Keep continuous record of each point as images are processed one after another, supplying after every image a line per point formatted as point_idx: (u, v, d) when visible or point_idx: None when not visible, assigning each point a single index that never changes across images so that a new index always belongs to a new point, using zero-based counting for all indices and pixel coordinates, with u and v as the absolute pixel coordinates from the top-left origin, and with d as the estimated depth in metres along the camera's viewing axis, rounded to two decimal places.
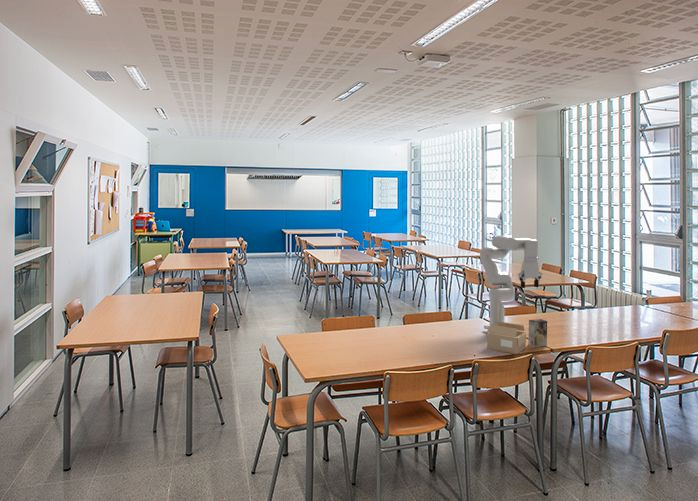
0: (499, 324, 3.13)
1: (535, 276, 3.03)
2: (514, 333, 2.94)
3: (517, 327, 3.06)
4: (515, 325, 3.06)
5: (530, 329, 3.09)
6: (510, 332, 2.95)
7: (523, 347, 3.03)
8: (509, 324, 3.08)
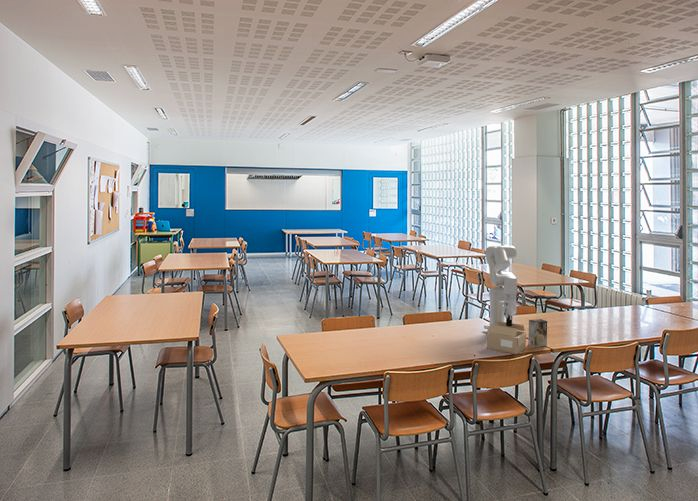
0: (499, 324, 3.13)
1: None
2: (514, 333, 2.94)
3: (517, 327, 3.06)
4: (515, 325, 3.06)
5: (530, 329, 3.09)
6: (510, 332, 2.95)
7: (523, 347, 3.03)
8: None
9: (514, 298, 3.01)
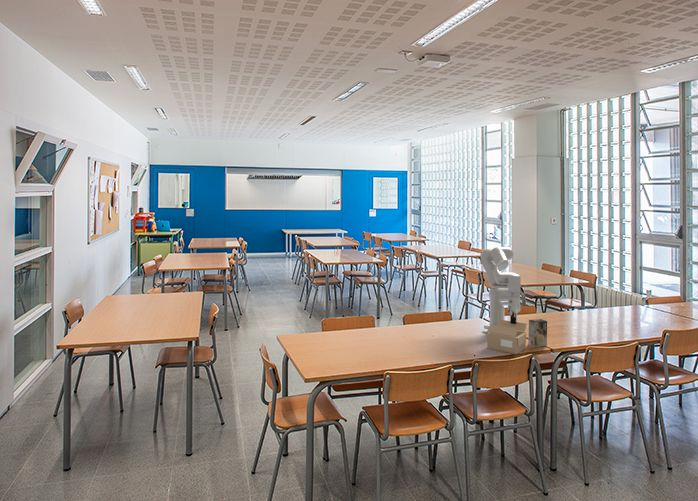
0: (501, 323, 3.15)
1: None
2: (514, 333, 2.94)
3: (519, 326, 3.08)
4: (518, 323, 3.09)
5: (530, 329, 3.09)
6: (510, 332, 2.95)
7: (523, 347, 3.03)
8: None
9: (518, 295, 3.06)
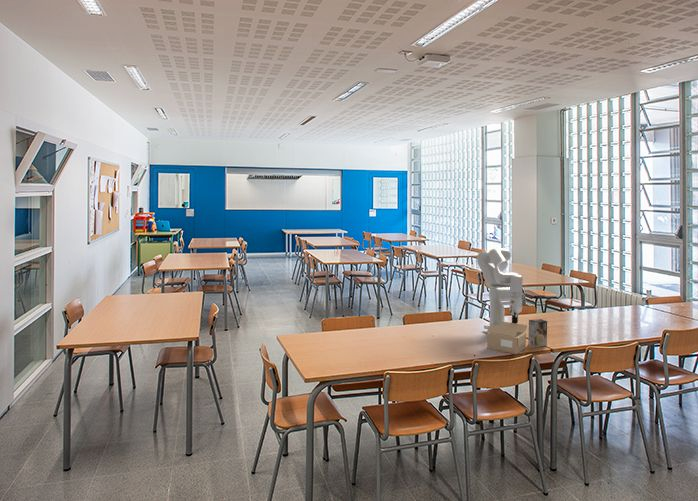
0: (501, 324, 3.16)
1: None
2: (514, 333, 2.94)
3: (519, 327, 3.09)
4: (518, 325, 3.11)
5: (530, 329, 3.09)
6: (510, 332, 2.95)
7: (523, 347, 3.03)
8: (512, 324, 3.13)
9: (520, 296, 3.09)
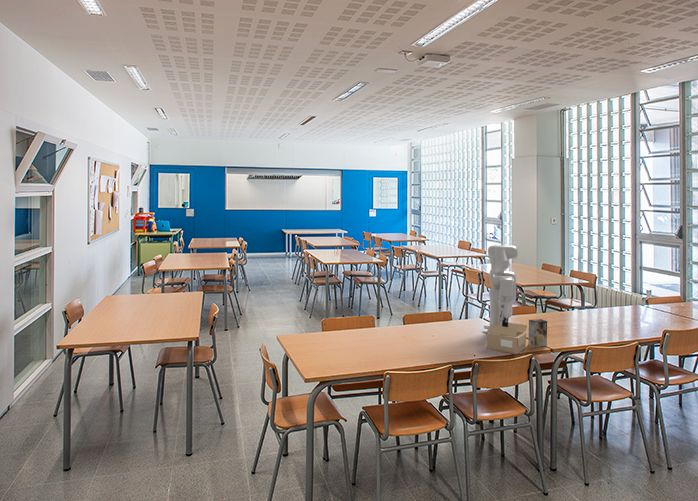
0: (501, 324, 3.16)
1: None
2: (514, 333, 2.94)
3: (519, 327, 3.09)
4: (518, 325, 3.11)
5: (530, 329, 3.09)
6: (510, 332, 2.95)
7: (523, 347, 3.03)
8: (512, 324, 3.13)
9: (510, 300, 2.96)
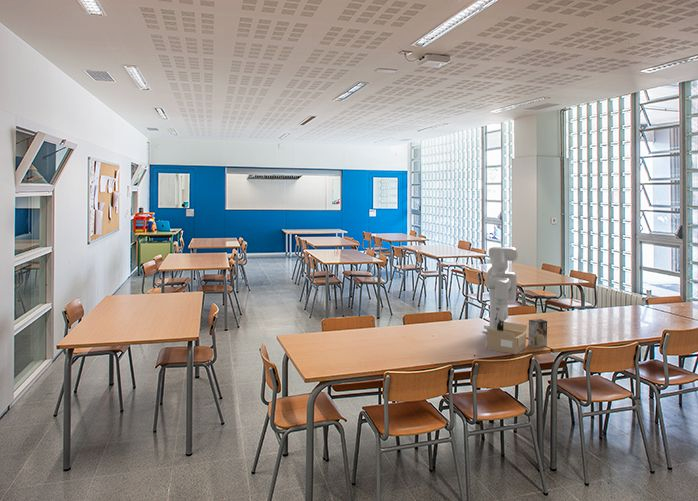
0: None
1: None
2: (512, 335, 2.91)
3: (519, 327, 3.09)
4: (518, 325, 3.11)
5: (530, 329, 3.09)
6: (509, 335, 2.93)
7: (523, 347, 3.03)
8: (512, 324, 3.13)
9: (505, 303, 2.89)
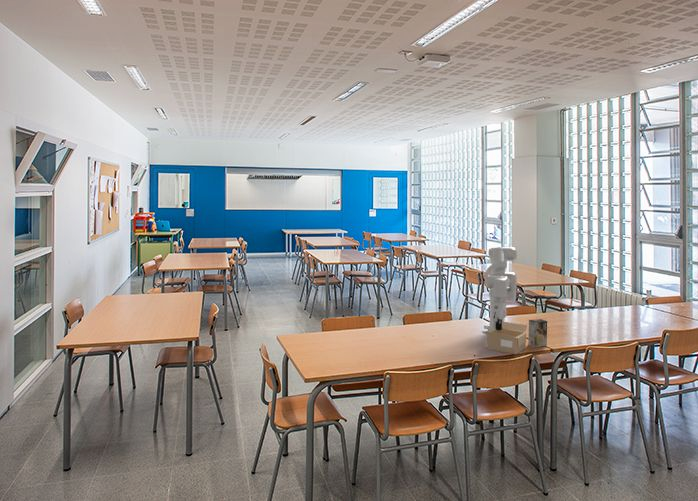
0: None
1: None
2: (512, 337, 2.91)
3: (519, 327, 3.09)
4: (518, 325, 3.11)
5: (530, 329, 3.09)
6: (508, 336, 2.92)
7: (523, 347, 3.03)
8: (512, 324, 3.13)
9: (504, 301, 2.88)
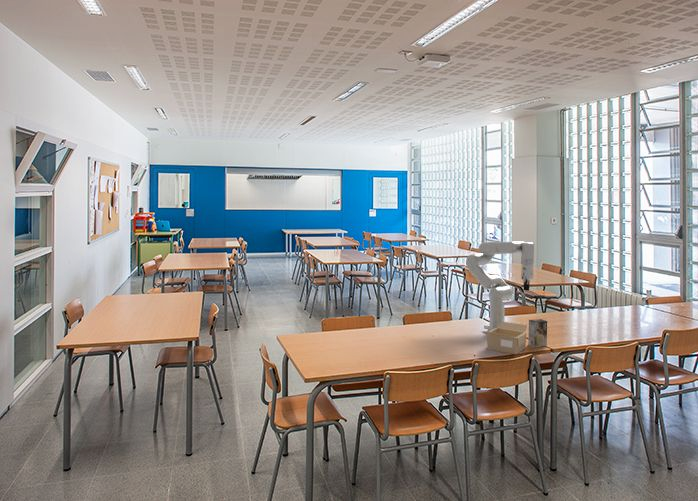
0: (501, 324, 3.16)
1: None
2: (512, 337, 2.91)
3: (519, 327, 3.09)
4: (518, 325, 3.11)
5: (530, 329, 3.09)
6: (508, 336, 2.92)
7: (523, 347, 3.03)
8: (512, 324, 3.13)
9: (531, 263, 3.13)
